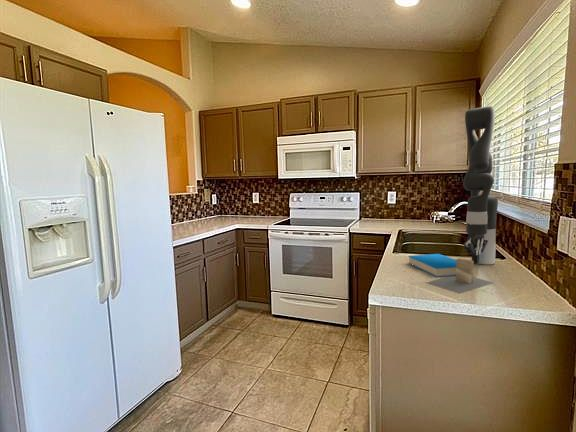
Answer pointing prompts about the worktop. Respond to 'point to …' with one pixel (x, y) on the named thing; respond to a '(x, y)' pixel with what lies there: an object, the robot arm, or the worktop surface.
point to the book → (434, 264)
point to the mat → (458, 284)
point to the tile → (464, 270)
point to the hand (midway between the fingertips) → (475, 263)
